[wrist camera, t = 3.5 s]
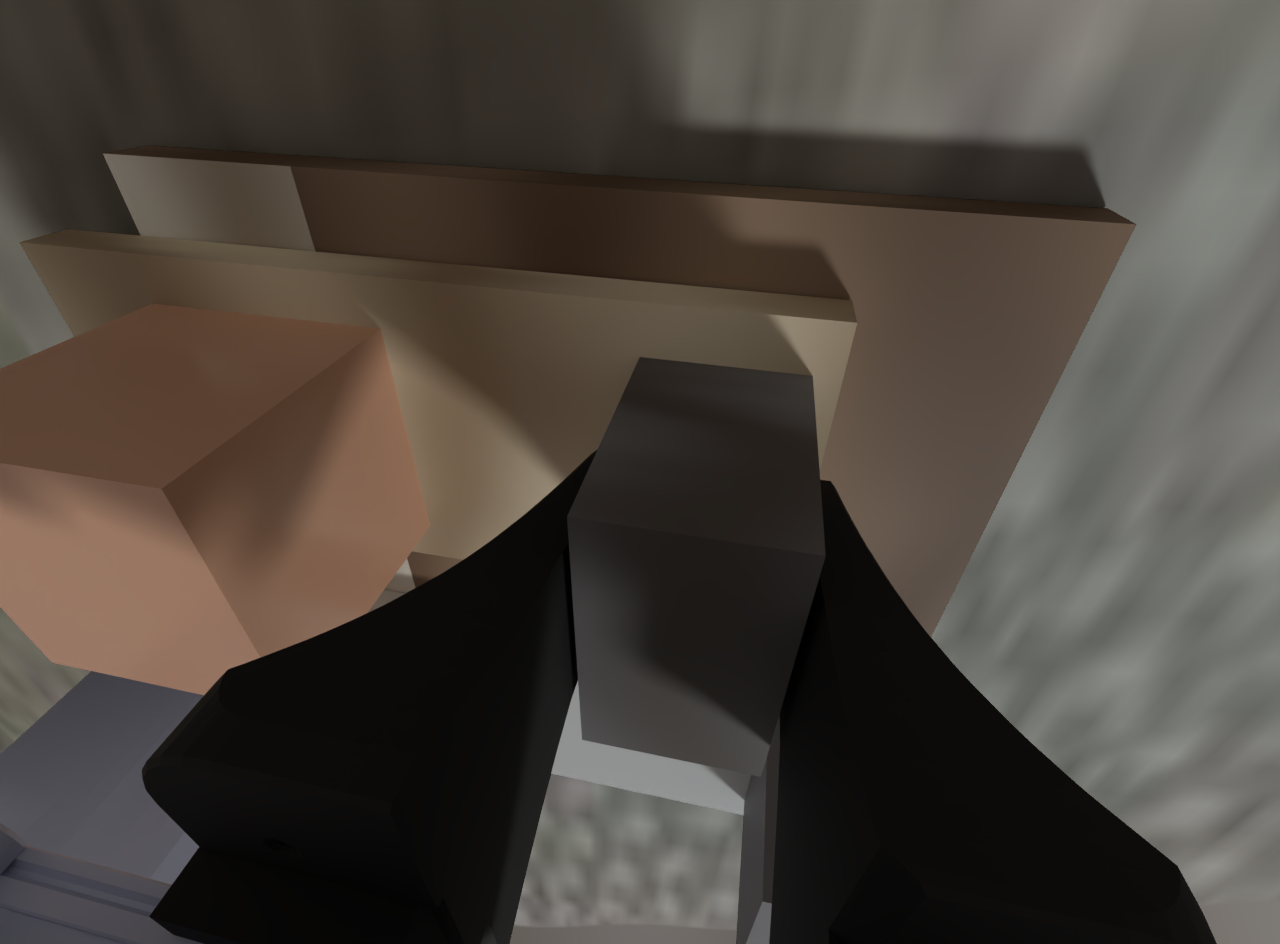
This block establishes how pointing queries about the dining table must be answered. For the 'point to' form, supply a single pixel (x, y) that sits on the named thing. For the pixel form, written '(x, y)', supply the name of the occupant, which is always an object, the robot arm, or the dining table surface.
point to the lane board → (740, 260)
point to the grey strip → (687, 800)
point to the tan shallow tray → (576, 448)
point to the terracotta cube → (200, 490)
